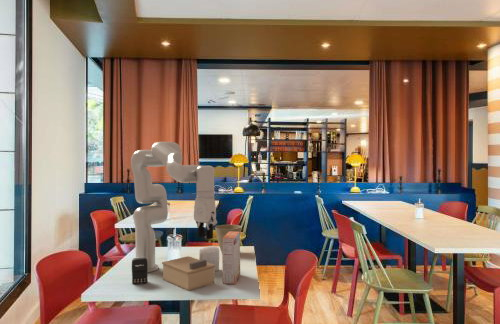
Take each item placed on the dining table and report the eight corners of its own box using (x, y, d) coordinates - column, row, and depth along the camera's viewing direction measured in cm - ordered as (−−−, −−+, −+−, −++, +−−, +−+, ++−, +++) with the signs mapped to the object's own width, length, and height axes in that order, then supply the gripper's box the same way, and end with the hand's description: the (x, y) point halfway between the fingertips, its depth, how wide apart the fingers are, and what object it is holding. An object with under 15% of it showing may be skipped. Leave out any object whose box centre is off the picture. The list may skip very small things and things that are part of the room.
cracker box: (228, 274, 177) (228, 230, 177) (240, 274, 176) (240, 231, 176) (221, 284, 163) (221, 237, 163) (234, 284, 162) (234, 237, 162)
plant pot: (240, 250, 222) (240, 224, 221) (241, 257, 207) (241, 229, 207) (215, 251, 221) (215, 224, 220) (215, 257, 206) (215, 229, 206)
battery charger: (131, 285, 161) (131, 259, 161) (132, 282, 165) (131, 257, 165) (147, 284, 163) (147, 258, 163) (148, 281, 167) (148, 256, 166)
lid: (162, 263, 169) (162, 256, 169) (188, 257, 179) (188, 251, 179) (188, 274, 154) (188, 266, 154) (215, 266, 164) (215, 259, 164)
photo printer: (216, 268, 186) (216, 244, 186) (220, 270, 182) (220, 245, 182) (197, 272, 180) (197, 246, 180) (201, 274, 177) (201, 248, 177)
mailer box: (163, 279, 169) (163, 264, 169) (188, 273, 179) (188, 258, 178) (188, 291, 154) (188, 274, 154) (214, 283, 164) (214, 267, 164)
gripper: (186, 194, 159) (186, 236, 159) (210, 197, 147) (210, 242, 147) (200, 192, 164) (200, 233, 164) (225, 195, 152) (225, 239, 152)
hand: (205, 237), depth 156 cm, fingers open, 4 cm apart
